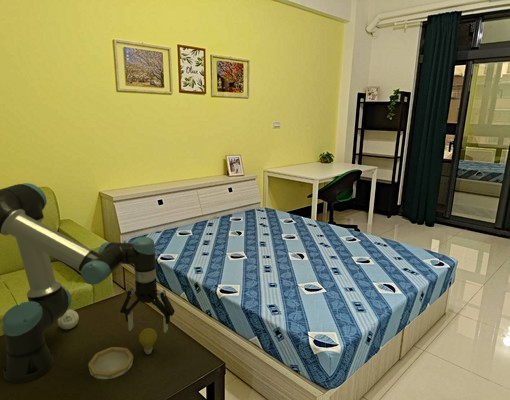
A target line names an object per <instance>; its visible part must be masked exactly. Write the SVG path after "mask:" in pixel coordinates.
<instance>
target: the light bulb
mask: <svg viewBox="0 0 510 400" xmlns="http://www.w3.org/2000/svg"><path fill="white" fill-rule="evenodd" d="M157 339H158V335H157V332H156V330H155V329H153V328H150V327H146V328H144V329H143V330H142V331H140V333H139V335H138V341H139V343H140V344H141V345H142V347H143V350H144V352H145V354H147V355H150V354H152V351H153V350H154V349H153V348H154V347H153V346H154V344H155V343H156V340H157Z"/></svg>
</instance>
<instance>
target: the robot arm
mask: <svg viewBox="0 0 510 400" xmlns="http://www.w3.org/2000/svg"><path fill="white" fill-rule="evenodd" d="M46 206H47V196H46V194H45V192H44V191H43V190H42V189H41V187H39V186H37V185H35V184H33V183H27V182H26V183H25V182H24V183H18V184H14V185H11V186H7V187H4V188H3V187H2V188H0V234H1V235H2V236H9V235H10V236H12V237H15V239H16V244H17V247H18V250H19V253H20V254H19V255H20V257H21V261H22V263H23V268H24V271H25V276H26V278H27V281H28V287H29V290H28V291H27V293H26V297H27V301H23V302H21V303H20V304H16V305H13V306H12V307H11V308H9V309H8V310H7V311H6V312H5V313H4V314H3V316H2V327H1V328H2V329H1V330H2V332H3V336H4V344H5V349H6V356H5V361H4V365H3V369H2V372H3V378H4V379H5V381H7V382H8V383H11V384H12V383H13V384H23V383H28V382H31V381H34V380H36V379H38V378H41V377H43V375H45V374H46V373H48V372H49V371H50V370H51V368H52V367H53V365H54V356H53V353H52V352H51V350H50V349H49V347H48V345H47V343H46V335H45V333H46V331H48V329H49V328H51V327H52V326H53V325H54V324H55V323H56V321H57V322H58V319H59V318H60V317H62V316H63V315H64V314H65V313H66V311H67V310H70V307H71V304H72V295H71V293H70V291H69V289H67V288H66V287H65V286H63V285H62V283H61V282H59V281H57V280H56V278H55V273H54V269H53V265H52V262H51V259H50V256H51V257H52V258H55V259H56V260H58V261H60V262H62V263H64V264H66V265H68V266H69V267H71V268H74V269H75V270H77V271H80V275H81V278H82V279H83V280H84V281H85V283H87V284H89V285H99V284H100V283H102V282H104V281H105V280H107V279H108V277H110V275H111V274H112V273H113V272H114V271H116V269H118V267H120V266H121V265H133V269H134V280H135V281H134V283H135V287H134V288H135V289H133V288H131V287H130V288H129V290H127V292H126V298H125V301H124V302H123V303H122V306H121V308H120V310H119V313H120V314H124V315H125V321H126V322H128V323H127V324H128V325H127V326H128V331H129V332H130V331H132V330H133V328H134V316H133V315H134V314H133V311H132V310H134V308H135V307H136V306H137V305H138V304H139V303H140V302H141V303H142V304H145V303H146V304H152V305H153V306H155V307H156V308H157V309H158V310H159V311H160V313H162V314H163V318H162V319H163V333H165V334H166V333H167V332H168V329H169V324H170V322H171V317H172V316H174V314H175V312H176V310H175V309H174V307H173V305H172V303H171V302H170V300H169V298H168V296H167V293H166V290H164V289H162V291H158V290H157V289H158V288H157V287H158V286H157V266H156V248H155V240H154V239H153V238H151V237H148V236H143V237H137V238H134V239H133V240H132V243H131V242H130V243H129V242H127V243H126V242H114V241H110V242H103V243H101V245H100V247H99V249H98V251H96V250H93V249H91V248H90V247H87V246H86V245H83V244H82V243H80V242H78V241H76V240H74V239H72V238H71V237H68V236H67V235H65V234H63V233H61V232H60V231H59V232H58V231H57V230H55V229H53V228H51V227H50V226H48V225H45V224H44V223H42V221H43V220H44V219H45V217H44V213H43V210H44V209H45V207H46ZM134 295H135V297H136V299H135V300H134V302H132V303H131V305H130V306H129V307H128V305H129V303H130V300H131V298H132V297H133V296H134ZM159 298H160V299H159ZM127 307H128V308H127Z"/></svg>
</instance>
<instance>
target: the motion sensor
mask: <svg viewBox="0 0 510 400" xmlns="http://www.w3.org/2000/svg"><path fill="white" fill-rule="evenodd" d="M79 318H80V317H79V314H78V312H77V311H76V310H73V309H68V310H67V311H66V313H65V314H64V315H63V316H62V317H60V318H59V319H58V320H57V324H58V326H59V327H60V328H61V329H62V330H70V329H72V328H74V327H75V326H76V325H77V324H78V322H79V320H80V319H79Z"/></svg>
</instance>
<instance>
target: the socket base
mask: <svg viewBox="0 0 510 400" xmlns="http://www.w3.org/2000/svg"><path fill="white" fill-rule="evenodd" d="M133 362H134V355H133V353H132V352H131V351H130V350H129V348H127V347H119V346H118V347H116V346H112V347H108V348H106V349H103V350H101V351H98V352H96V353H95V354H94V355H93V357H92V358H91V360H90V361H89V362H88V363H87V366H88V370H89V374H90V376H91V377H93V378H95V379H98V380H111V379H112V380H113V379H115V378H118V377H121V376H122V375H124V374H126V373H127V372H128V371H129V370H130V369H131V368H132V366H133V364H134V363H133Z"/></svg>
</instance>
